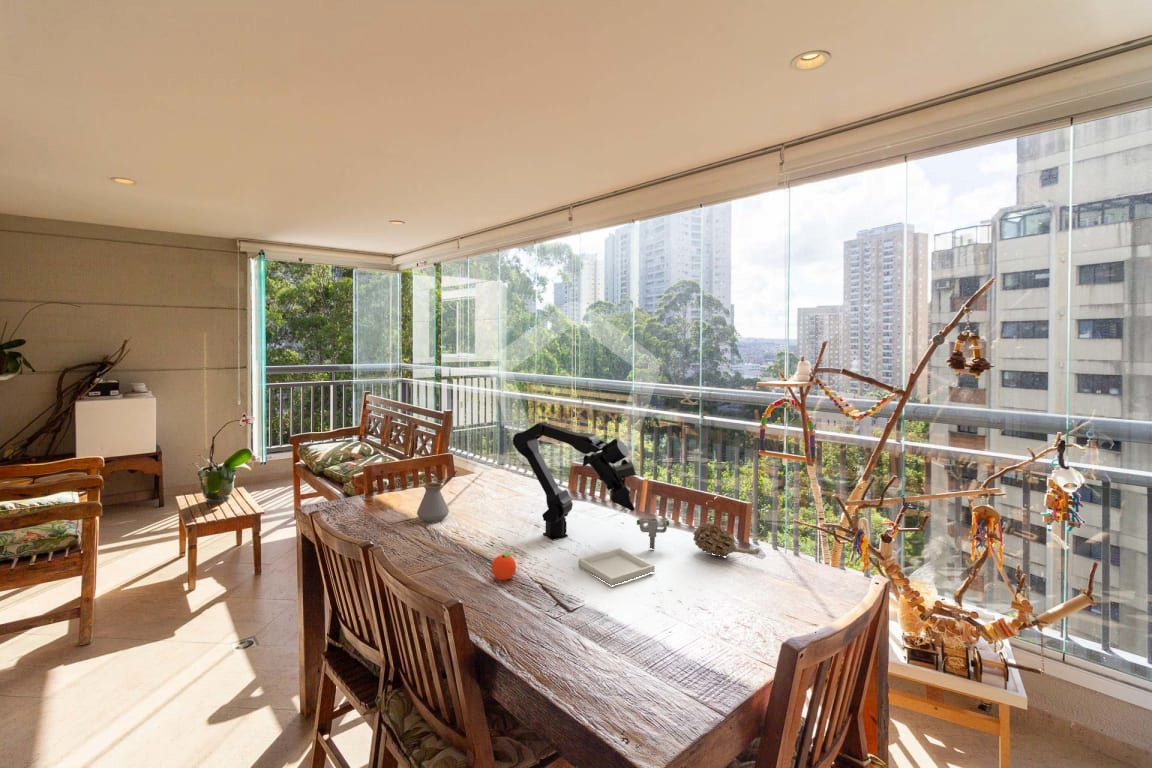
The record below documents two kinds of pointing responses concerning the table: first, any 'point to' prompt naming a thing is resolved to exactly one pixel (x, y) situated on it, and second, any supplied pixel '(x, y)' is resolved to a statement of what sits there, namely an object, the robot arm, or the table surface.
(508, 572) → the clementine
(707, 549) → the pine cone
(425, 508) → the coffee pot
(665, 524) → the mechanical component
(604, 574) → the parts tray
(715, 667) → the table surface
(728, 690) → the table surface
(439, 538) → the table surface
